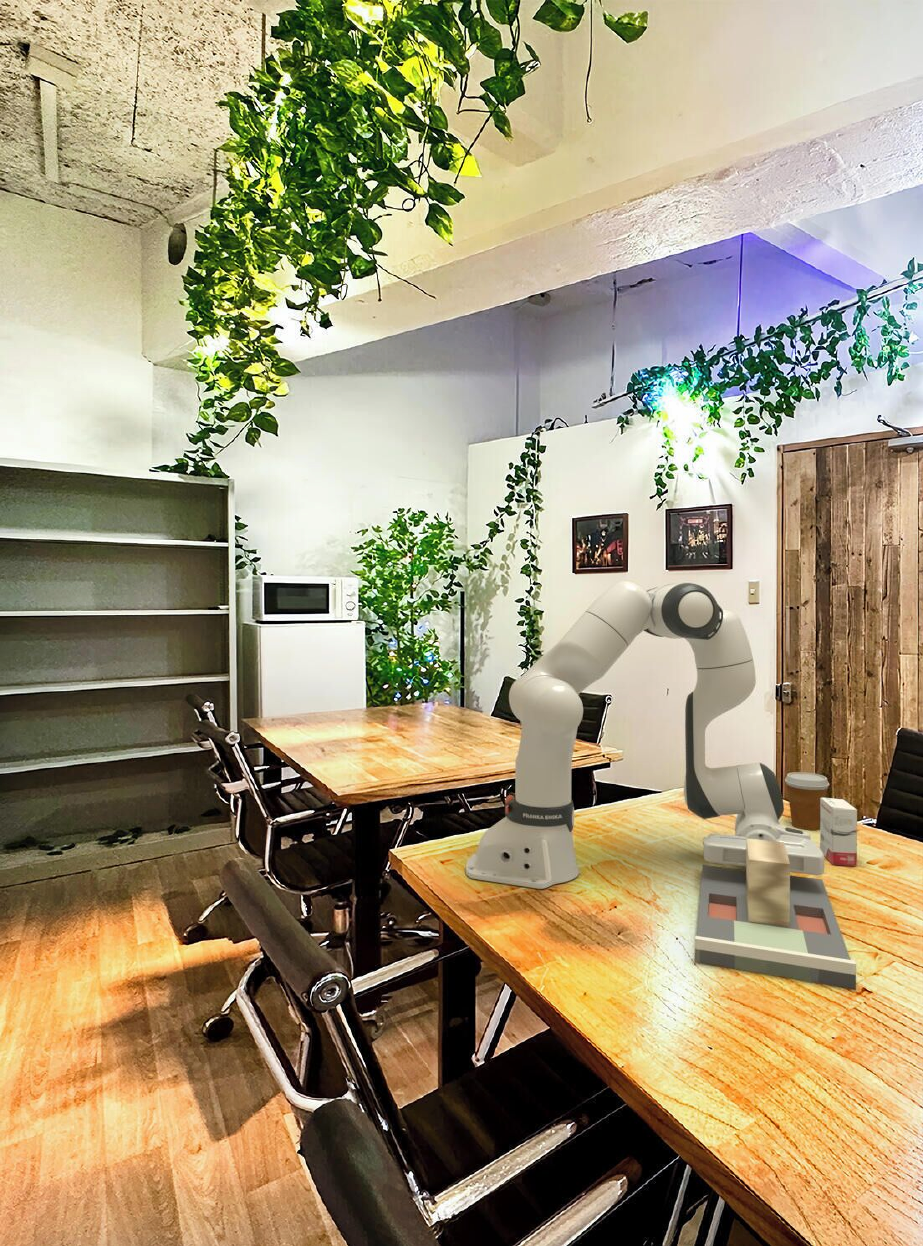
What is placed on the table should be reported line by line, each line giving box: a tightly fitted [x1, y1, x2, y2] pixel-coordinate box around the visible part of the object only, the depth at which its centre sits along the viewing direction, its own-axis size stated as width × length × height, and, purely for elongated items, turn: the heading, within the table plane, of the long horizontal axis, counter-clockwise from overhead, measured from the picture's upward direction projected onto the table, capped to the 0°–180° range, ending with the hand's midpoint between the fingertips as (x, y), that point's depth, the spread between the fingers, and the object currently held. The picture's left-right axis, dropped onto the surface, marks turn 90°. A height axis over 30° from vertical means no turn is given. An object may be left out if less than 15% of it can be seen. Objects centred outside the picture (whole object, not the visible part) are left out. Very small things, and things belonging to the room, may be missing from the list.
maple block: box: [745, 838, 791, 927], centre depth 116 cm, size 6×11×10 cm, turn 160°
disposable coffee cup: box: [784, 771, 830, 831], centre depth 167 cm, size 10×10×12 cm
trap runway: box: [694, 864, 857, 990], centre depth 116 cm, size 21×36×4 cm, turn 159°
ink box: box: [819, 797, 858, 867], centre depth 146 cm, size 9×5×12 cm, turn 168°
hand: (764, 868), depth 122 cm, fingers closed, pressing on maple block
